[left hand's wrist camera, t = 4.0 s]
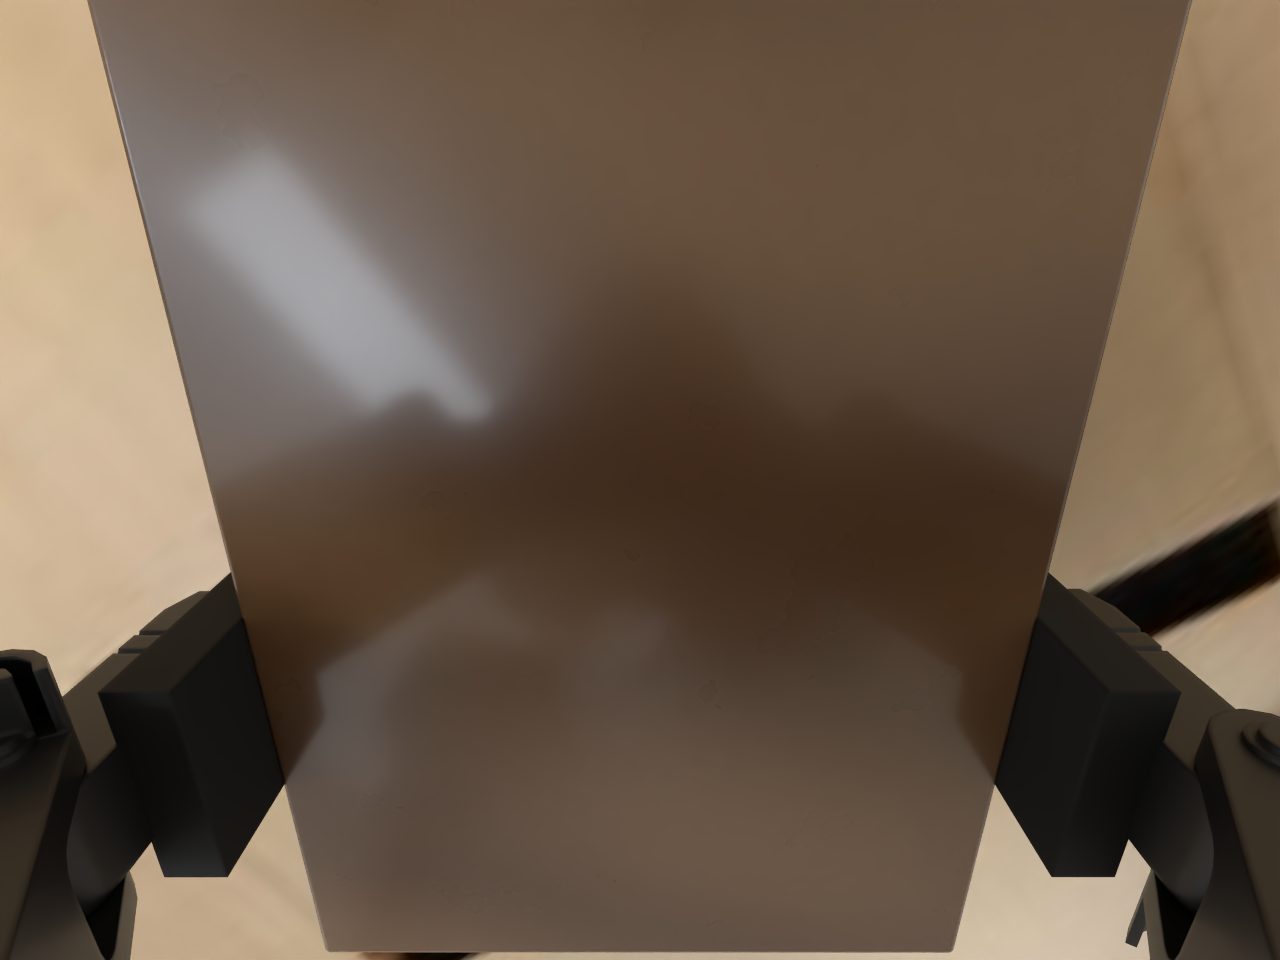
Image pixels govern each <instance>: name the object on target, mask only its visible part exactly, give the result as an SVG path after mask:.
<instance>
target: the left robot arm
mask: <svg viewBox="0 0 1280 960" xmlns="http://www.w3.org/2000/svg"><path fill="white" fill-rule="evenodd" d="M995 785H996V787H997V788H998V790H999V792H1000V793H1001V795H1002V797H1003V798H1004V800H1005V802H1006V803H1007V805H1008V806H1009V808H1010V810H1011V811H1012V813H1013V815H1014V816H1015V818H1016V820H1017V821H1018V823H1019V824H1020V826H1021V828H1022V829H1023V831H1024V833H1025V834H1026V836H1027V838H1028V839H1029V841H1030V842H1031V844H1032V846H1033V847H1034V849H1035V851H1036V852H1037V854H1038V856H1039V857H1040V859H1041V860H1042V862H1043V864H1044V865H1045V867H1046V869H1047V870H1048V872H1049V874H1050V875H1051V877H1115V875H1116V872H1117V869H1118V867H1119V864H1120V861H1121V858H1122V856H1123V853H1124V850H1125V847H1126V844H1127V842H1128V839H1129V840H1130V841H1131V843H1132V844H1133V845H1134V847H1135V848H1136V849H1137V851H1138V852H1139V853H1140V854H1141V856H1142V857H1143V858H1144V860H1145V861H1146V862H1147V864H1148V865H1149V866H1150V867H1151V871H1150V874H1149V876H1148V879H1147V881H1146V884H1145V886H1144V889H1143V892H1142V894H1141V897H1140V899H1139V902H1138V904H1137V907H1136V910H1135V912H1134V915H1133V917H1132V920H1131V923H1130V925H1129V928H1128V932H1127V937H1126V942H1125V943H1127V944H1130V945H1132V946H1134V947H1137V945H1138V943H1139V940H1140V938H1141V935H1142V933H1143V932H1144V931H1146V930H1147V936H1148V944H1149V953H1150V960H1280V717H1279V716H1276V715H1273V714H1270V713H1264V712H1259V711H1253V710H1247V709H1235V708H1234V707H1232V706H1231V705H1230V704H1229V703H1228V702H1227V701H1225V700H1224V699H1223V698H1222V697H1221V696H1219V695H1218V694H1217V693H1216V692H1215V691H1214V690H1212V689H1211V688H1210V687H1209V686H1208V685H1206V684H1205V683H1204V682H1203V681H1202V680H1201V679H1199V678H1198V677H1197V676H1196V675H1195V674H1194V673H1192V672H1191V671H1190V670H1189V669H1188V668H1186V667H1185V666H1184V665H1183V664H1182V663H1181V662H1179V661H1178V660H1177V659H1176V658H1175V657H1173V656H1172V655H1171V654H1170V653H1169V652H1168V651H1162V649H1161V645H1159V644H1158V643H1157V642H1156V641H1155V640H1153V639H1152V638H1151V637H1150V636H1149V635H1148V634H1146V633H1141V631H1140V628H1139V627H1138V626H1137V625H1136V624H1135V623H1133V622H1132V621H1131V620H1130V619H1129V618H1128V617H1126V616H1125V615H1124V614H1123V613H1122V612H1120V611H1119V610H1118V609H1117V608H1116V607H1114V606H1112V605H1110V604H1108V603H1107V602H1105V601H1103V600H1101V599H1099V598H1097V597H1095V596H1093V595H1091V594H1089V593H1087V592H1085V591H1084V590H1082V589H1066V588H1065V587H1064V586H1063V585H1062V584H1061V583H1060V582H1059V581H1058V580H1056V579H1055V578H1054V577H1053V576H1052V575H1051V574H1050V573H1049V572H1048V575H1047V579H1046V583H1045V587H1044V591H1043V595H1042V599H1041V603H1040V606H1039V610H1038V614H1037V618H1036V622H1035V626H1034V630H1033V634H1032V638H1031V642H1030V646H1029V650H1028V654H1027V658H1026V662H1025V666H1024V670H1023V674H1022V678H1021V682H1020V686H1019V690H1018V694H1017V698H1016V702H1015V706H1014V710H1013V714H1012V718H1011V722H1010V726H1009V730H1008V734H1007V738H1006V742H1005V746H1004V750H1003V754H1002V758H1001V762H1000V765H999V769H998V773H997V777H996V781H995ZM283 786H284V781H283V777H282V773H281V769H280V765H279V761H278V757H277V753H276V749H275V745H274V741H273V737H272V733H271V729H270V725H269V721H268V717H267V713H266V709H265V705H264V701H263V697H262V693H261V689H260V685H259V681H258V677H257V673H256V669H255V665H254V661H253V657H252V653H251V649H250V645H249V641H248V637H247V633H246V629H245V626H244V622H243V618H242V614H241V610H240V606H239V602H238V598H237V594H236V590H235V586H234V582H233V578H232V574H231V573H229V574H228V575H227V576H226V577H225V578H224V579H223V580H222V581H221V582H219V583H218V584H217V585H216V586H215V587H214V588H213V589H212V590H211V591H199V592H197V593H195V594H193V595H191V596H189V597H188V598H186V599H184V600H182V601H180V602H178V603H176V604H174V605H172V606H170V607H169V608H167V609H165V610H164V611H162V612H161V613H160V614H159V615H158V616H157V617H155V618H154V619H153V620H152V621H151V622H149V623H148V624H147V625H146V626H145V627H144V628H142V629H141V630H140V633H139V635H134V636H133V637H132V638H131V639H130V640H128V641H127V642H126V643H125V644H124V645H123V646H121V647H120V648H119V651H118V654H112V655H111V656H110V657H109V658H107V659H106V660H105V661H104V662H103V663H102V664H100V665H99V666H98V667H97V668H96V669H94V670H93V671H92V672H91V673H90V674H89V675H87V676H86V677H85V678H84V679H83V680H82V681H80V682H79V683H78V684H77V685H76V686H75V687H73V688H72V689H71V690H70V691H69V692H68V693H66V694H65V695H64V696H63V697H62V696H61V693H60V690H59V688H58V685H57V683H56V680H55V678H54V675H53V672H52V670H51V667H50V665H49V662H48V660H47V657H46V656H44V655H42V654H40V653H38V652H36V651H34V650H16V649H11V650H4V651H0V960H130V955H131V947H132V939H133V930H134V922H135V914H136V906H137V894H136V889H135V884H134V881H133V879H132V876H131V874H130V871H129V870H130V869H131V868H132V866H133V865H134V864H135V863H136V861H137V860H138V859H139V857H140V856H141V855H142V853H143V852H144V851H145V849H146V848H147V847H148V846H149V844H150V843H151V842H152V844H153V847H154V850H155V853H156V855H157V858H158V861H159V864H160V866H161V869H162V872H163V875H164V877H228V876H229V874H230V872H231V871H232V869H233V867H234V866H235V864H236V863H237V861H238V859H239V858H240V856H241V854H242V853H243V851H244V849H245V848H246V846H247V845H248V843H249V841H250V840H251V838H252V836H253V835H254V833H255V831H256V830H257V828H258V827H259V825H260V823H261V822H262V820H263V818H264V817H265V815H266V813H267V812H268V810H269V809H270V807H271V805H272V804H273V802H274V800H275V799H276V797H277V795H278V794H279V792H280V791H281V789H282V787H283Z"/></svg>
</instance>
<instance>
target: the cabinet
mask: <svg viewBox="0 0 1280 960" xmlns="http://www.w3.org/2000/svg"><path fill="white" fill-rule="evenodd" d="M87 1H88V5H89V9H90V13H91V17H92V21H93V25H94V29H95V33H96V37H97V41H98V45H99V49H100V53H101V57H102V61H103V65H104V69H105V72H106V76H107V80H108V84H109V88H110V92H111V96H112V100H113V104H114V108H115V112H116V116H117V120H118V124H119V128H120V132H121V136H122V140H123V144H124V148H125V152H126V156H127V160H128V164H129V168H130V172H131V176H132V180H133V184H134V188H135V192H136V196H137V200H138V204H139V208H140V212H141V216H142V220H143V224H144V228H145V232H146V236H147V240H148V244H149V248H150V252H151V256H152V259H153V263H154V267H155V271H156V275H157V279H158V283H159V287H160V291H161V295H162V299H163V303H164V307H165V311H166V315H167V319H168V323H169V327H170V331H171V335H172V339H173V343H174V347H175V351H176V355H177V359H178V363H179V367H180V371H181V375H182V379H183V383H184V387H185V391H186V395H187V399H188V403H189V407H190V411H191V415H192V419H193V423H194V427H195V431H196V435H197V439H198V443H199V446H200V450H201V454H202V458H203V462H204V466H205V470H206V474H207V478H208V482H209V486H210V490H211V494H212V498H213V502H214V506H215V510H216V514H217V518H218V522H219V526H220V530H221V534H222V538H223V542H224V546H225V550H226V554H227V558H228V562H229V566H230V570H231V574H232V578H233V582H234V586H235V590H236V594H237V598H238V602H239V606H240V610H241V614H242V618H243V622H244V626H245V629H246V633H247V637H248V641H249V645H250V649H251V653H252V657H253V661H254V665H255V669H256V673H257V677H258V681H259V685H260V689H261V693H262V697H263V701H264V705H265V709H266V713H267V717H268V721H269V725H270V729H271V733H272V737H273V741H274V745H275V749H276V753H277V757H278V761H279V765H280V769H281V773H282V777H283V781H284V785H285V789H286V793H287V797H288V801H289V805H290V809H291V813H292V816H293V820H294V824H295V828H296V832H297V836H298V840H299V844H300V848H301V852H302V856H303V860H304V864H305V868H306V872H307V876H308V880H309V884H310V888H311V892H312V896H313V900H314V904H315V908H316V912H317V916H318V920H319V924H320V928H321V932H322V936H323V940H324V944H325V948H326V950H327V951H329V952H825V953H949V952H952V951H953V948H954V944H955V940H956V936H957V932H958V928H959V924H960V921H961V917H962V913H963V909H964V905H965V901H966V897H967V893H968V889H969V885H970V881H971V877H972V873H973V869H974V865H975V861H976V857H977V853H978V849H979V845H980V841H981V837H982V833H983V829H984V825H985V821H986V817H987V813H988V809H989V805H990V801H991V797H992V793H993V789H994V785H995V781H996V777H997V773H998V769H999V765H1000V762H1001V758H1002V754H1003V750H1004V746H1005V742H1006V738H1007V734H1008V730H1009V726H1010V722H1011V718H1012V714H1013V710H1014V706H1015V702H1016V698H1017V694H1018V690H1019V686H1020V682H1021V678H1022V674H1023V670H1024V666H1025V662H1026V658H1027V654H1028V650H1029V646H1030V642H1031V638H1032V634H1033V630H1034V626H1035V622H1036V618H1037V614H1038V610H1039V606H1040V603H1041V599H1042V595H1043V591H1044V587H1045V583H1046V579H1047V575H1048V571H1049V567H1050V563H1051V559H1052V555H1053V551H1054V547H1055V543H1056V539H1057V535H1058V531H1059V527H1060V523H1061V519H1062V515H1063V511H1064V507H1065V503H1066V499H1067V495H1068V491H1069V487H1070V483H1071V479H1072V475H1073V471H1074V467H1075V463H1076V459H1077V455H1078V451H1079V447H1080V444H1081V440H1082V436H1083V432H1084V428H1085V424H1086V420H1087V416H1088V412H1089V408H1090V404H1091V400H1092V396H1093V392H1094V388H1095V384H1096V380H1097V376H1098V372H1099V368H1100V364H1101V360H1102V356H1103V352H1104V348H1105V344H1106V340H1107V336H1108V332H1109V328H1110V324H1111V320H1112V316H1113V312H1114V308H1115V304H1116V300H1117V296H1118V292H1119V288H1120V285H1121V281H1122V277H1123V273H1124V269H1125V265H1126V261H1127V257H1128V253H1129V249H1130V245H1131V241H1132V237H1133V233H1134V229H1135V225H1136V221H1137V217H1138V213H1139V209H1140V205H1141V201H1142V197H1143V193H1144V189H1145V185H1146V181H1147V177H1148V173H1149V169H1150V165H1151V161H1152V157H1153V153H1154V149H1155V145H1156V141H1157V137H1158V133H1159V129H1160V126H1161V122H1162V118H1163V114H1164V110H1165V106H1166V102H1167V98H1168V94H1169V90H1170V86H1171V82H1172V78H1173V74H1174V70H1175V66H1176V62H1177V58H1178V54H1179V50H1180V46H1181V42H1182V38H1183V34H1184V30H1185V26H1186V22H1187V18H1188V14H1189V10H1190V6H1191V2H1192V0H87Z"/></svg>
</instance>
